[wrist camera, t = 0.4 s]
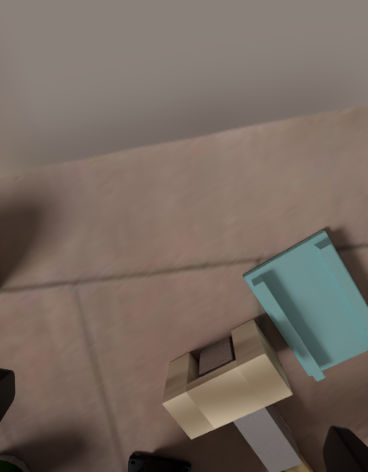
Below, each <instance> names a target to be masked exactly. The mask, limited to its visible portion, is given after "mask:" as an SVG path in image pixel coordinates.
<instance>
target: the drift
mask: <svg viewBox="0 0 368 472" xmlns="http://www.w3.org/2000/svg"><path fill="white" fill-rule="evenodd" d="M299 453H300V452H299ZM300 456H301V459H302V462H303V464H300V465H297V466H295V467H292V468H289V469H286V470H283V471H281V472H314V471H313V470H312V468H311V467H310V466H309V464H308V463H307V462H306V460H305V459H304V457H303V456H302V455H301V453H300Z"/></svg>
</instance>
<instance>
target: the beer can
mask: <svg viewBox="0 0 368 472" xmlns="http://www.w3.org/2000/svg"><path fill="white" fill-rule="evenodd" d="M0 472H30V471H29V469H28V467H27V465H26V464H25V463H24V462H23V461H21V460H20V459H19V458H16V457H14V456H11V455H0Z"/></svg>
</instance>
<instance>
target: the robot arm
mask: <svg viewBox="0 0 368 472" xmlns="http://www.w3.org/2000/svg"><path fill="white" fill-rule="evenodd" d="M14 397H15V374H14V372H13V371H12V370H8V369H2V368H0V422H1V420H2V418H3V417H4V415H5V413H6V412H7V410H8V409H9V407H10V405H11V404H12V402H13V400H14ZM323 458H324V462H325V466H326V470H327V472H368V447H367V446H366V445H365V444H364V443H363V442H362V441H361V440H360V439H359V438H358V437H357V436H356V435H355V434H354V433H353V432H352V431H351V430H349V429H348V428H346V427H341V426H335V425H332V426H331V427H330V428H329V430H328V433H327V436H326V439H325V442H324V445H323ZM128 472H191V464H190V463H188V462H183V461H175V460H168V459H161V458H154V457H146V456H139V455H131V456H130V458H129V461H128Z"/></svg>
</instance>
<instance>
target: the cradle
mask: <svg viewBox="0 0 368 472" xmlns="http://www.w3.org/2000/svg"><path fill="white" fill-rule="evenodd" d="M243 277H244V279H245V280H246V282H247V283H248V285H249V286H250V288H251V289H252V291H253V292H254V294H255V296H256V297H257V299H258V300H259V302H260V303H261V305H262V306H263V308H264V309H265V311H266V312H267V314H268V315H269V317H270V318H271V320H272V321H273V323H274V324H275V326H276V327H277V329H278V330H279V332H280V333H281V335H282V336H283V338H284V339H285V341H286V342H287V344H288V345H289V347H290V348H291V350H292V351H293V353H294V354H295V356H296V357H297V359H298V360H299V362H300V363H301V365H302V367H303V368H304V370H305V371H306V373H307V374H308V376H309V377H310V376H312V375H313V377H314V378H315V380H316V381H320V380H322V379H324V378H326V377H325V375H324V374H323V372H322V371H323V370H325V369H328V368H330V367H332V366H334V365H337V364H339V363H341V362H343V361H345V360H348V359H350V358H352V357H354V356H356V355H359V354H361V353H363V352H365V351H368V305H367V303H366V301H365V300H364V298H363V296H362V294H361V293H360V291H359V289H358V287H357V286H356V284H355V282H354V280H353V279H352V277H351V275H350V273H349V272H348V270H347V268H346V266H345V265H344V263H343V261H342V259H341V258H340V256H339V254H338V253H337V251H336V249H335V247H334V246H333V244H332V242H331V240H330V239H329V237H328V235H327V233H326V232H325V231H324V230H321V231H319V232H317V233H316V234H314V235H312V236H310V237H309V238H307V239H305V240H303V241H302V242H300V243H298V244H296V245H295V246H293V247H291V248H289V249H288V250H286V251H284V252H282V253H281V254H279V255H277V256H275V257H274V258H272V259H270V260H268V261H267V262H265V263H263V264H261V265H260V266H258V267H256V268H254V269H253V270H251V271H249V272H247V273H246V274H244V275H243Z"/></svg>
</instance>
